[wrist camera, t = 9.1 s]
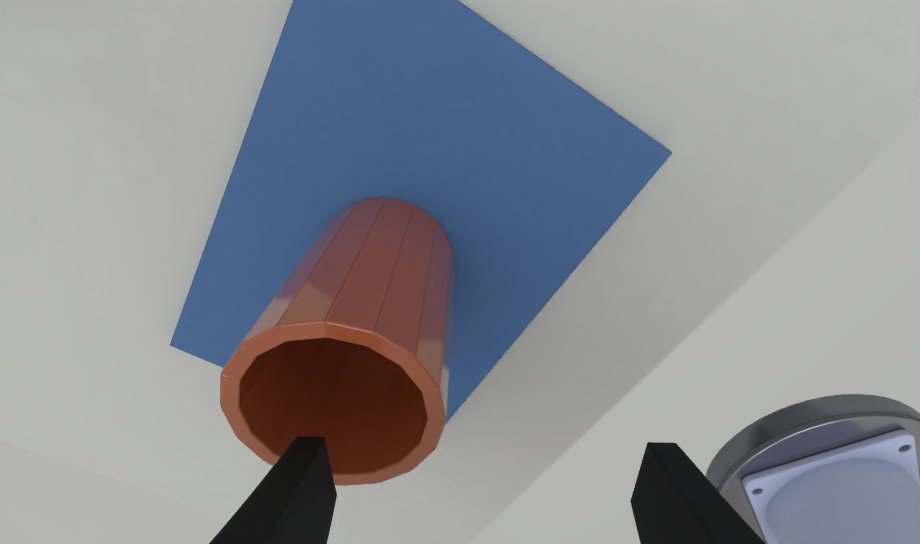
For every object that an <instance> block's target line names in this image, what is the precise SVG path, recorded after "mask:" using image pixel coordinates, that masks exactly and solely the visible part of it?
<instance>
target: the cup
mask: <svg viewBox="0 0 920 544" xmlns="http://www.w3.org/2000/svg"><path fill="white" fill-rule="evenodd" d="M454 277H455V270H454V254H453V250H452V246H451V243H450V240H449V238H448V236H447V234H446V233H445V231H444V230H443V228H442V227H441V225H440V224H439V223H438V222H437V221H436V220H435V219H434V218H433V217H432V216H431V215H429V214H428V213H427V212H426V211H424V210H422V209H421V208H419V207H417V206H415V205H413V204H411V203H408V202H405V201H402V200H398V199H393V198H382V197H381V198H370V199H364V200H361V201H358V202H355V203H353V204H351V205H349V206H347V207H345V208H344V209H342V210H341V211H340V212H339V213H338V214H336V215H335V216H334V217H333V218H332V219H331V220H330V222H329V223H328V224H327V226H326V227H325V228H324V230H323V231H322V233H321V234H320V235H319V237H318V238H317V239H316V241H315V242H314V243H313V245H312V246H311V248H310V249H309V250H308V252H307V253H306V254H305V256H304V257H303V258H302V260H301V261H300V263H299V264H298V265H297V267H296V268H295V269H294V271H293V272H292V274H291V275H290V276H289V278H288V279H287V280H286V282H285V283H284V284H283V286H282V287H281V289H280V290H279V291H278V293H277V294H276V295H275V297H274V298H273V299H272V301H271V302H270V304H269V305H268V306H267V308H266V309H265V310H264V312H263V313H262V314H261V316H260V317H259V319H258V320H257V321H256V323H255V324H254V325H253V327H252V328H251V330H250V331H249V332H248V334H247V335H246V336H245V338H244V339H243V340H242V342H241V343H240V345H239V346H238V347H237V349H236V350H235V352H234V353H233V355H232V356H231V358H230V359H229V361H228V362H227V364H226V365H225V367H224V368H223V370H222V373H221V385H220V405H221V409H222V411H223V412H224V414H225V416H226V418H227V420H228V422H229V424H230V426H231V428H232V429H233V431H234V433H235V435H236V436H237V438H238V439H239V440H240V441H241V442H243V443H244V444H245V445H246V446H247V447H248V448H250V449H251V450H252V451H253V452H254V453H255V454H256V455H258V456H259V457H260V458H261V459H262V460H263V461H266V462H267V463H269V464H271V465H273V466H274V465H275V463H276V462H277V461H278V460H279V458H280V457H281V456H282V454H283V453H284V452H285V451H286V449H287V448H288V447H289V445H290V444H291V443H292V441H293V440H294V439H295V438H297V437H298V436H306V437H325V441H326V446H327V451H328V455H329V460H330V465H331V470H332V475H333V479H334V484H335V485H342V486H345V485H360V484H374V483H378V482H379V483H381V482H383V481H386V480H389V479H391V478H394V477H397V476H399V475H402V474H405V473H407V472H410V471H411V470H413V469H414V468H415V467H417V466H418V465H419V464H420V463H421V462H422V461H423V460H424V459H425V458H426V457H428V456H429V455H430V454H431V453H432V452H433V451H434V450H435V449H436V447H437V445H438V442H439V439H440V437H441V434H442V431H443V428H444V425H445V423H446V414H447V397H448V380H449V363H450V345H451V328H452V311H453V294H454Z"/></svg>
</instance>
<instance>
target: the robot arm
mask: <svg viewBox="0 0 920 544" xmlns="http://www.w3.org/2000/svg"><path fill="white" fill-rule="evenodd" d="M742 484H743V487H744V489H745V492H746V494H747V497H748V499H749V501H750V504H751V506H752V509H753V511H754V513H755V516H756V518H757V521H758V523H759V526H760V528H761V530H762V533H763V535H764V538H765V540H766V542H767V544H920V478H919V470H918V462H917V454H916V446H915V438H914V436H913V435H912V434H911V433H909V432H908V431H907V430H901V429H900V430H895V431H892V432H889V433H885V434H882V435H879V436H875V437H872V438H869V439H865V440H862V441H859V442H856V443H852V444H849V445H846V446H842V447H839V448H836V449H833V450H829V451H826V452H823V453H819V454H816V455H813V456H809V457H806V458H803V459H800V460H796V461H793V462H790V463H786V464H783V465H780V466H776V467H773V468H770V469H767V470H763V471H760V472H757V473H753V474H750V475H748V476H746V477H744V478H743V480H742ZM336 497H337V494H336V489H335V484H334V479H333V475H332V470H331V465H330V460H329V455H328V451H327V446H326V441H325V437H306V436H298V437H297V438H295V439H294V440H293V441H292V443H291V444H290V445H289V447H288V448H287V449H286V451H285V452H284V453H283V454H282V456H281V457H280V458H279V460H278V461H277V462H276V463H275V465H274V466H273V467H272V469H271V470H270V471H269V472H268V474H267V475H266V476H265V477H264V479H263V480H262V481H261V482H260V484H259V485H258V486H257V487H256V489H255V490H254V491H253V492H252V494H251V495H250V496H249V497H248V499H247V500H246V501H245V502H244V503H243V504H242V506H241V507H240V508H239V509H238V510H237V512H236V513H235V514H234V515H233V516H232V518H231V519H230V520H229V521H228V522H227V524H226V525H225V526H224V527H223V528H222V529H221V531H220V532H219V533H218V534H217V535H216V536H215V538H214V539H213V540H212V541H211V542H210V543H209V544H327V540H328V535H329V531H330V526H331V522H332V517H333V512H334V507H335V502H336ZM631 505H632V509H633V514H634V518H635V522H636V526H637V531H638V534H639V538H640V542H641V544H766V543H765V542H764V541H763V540H762V539H761V538H760V537H759V536H758V535H757V534H756V532H755V531H754V530H753V529H752V528H751V527H750V526H749V525H748V524H747V523H746V522H745V521H744V520H743V518H742V517H741V516H740V515H739V514H738V513H737V512H736V511H735V510H734V508H733V507H732V506H731V505H730V504H729V503H728V502H727V501H726V500H725V498H724V497H723V496H722V495H721V494H720V493H719V492H718V490H717V489H716V488H715V487H714V486H713V485H712V484H711V483H710V481H709V480H708V479H707V478H706V477H705V476H704V475H703V473H702V472H701V471H700V470H699V469H698V468H697V467H696V466H695V464H694V463H693V462H692V461H691V460H690V459H689V457H688V456H687V455H686V454H685V453H684V452H683V451H682V449H681V448H680V447H679V446H678V445H677V444H676V443H651V442H648V443H647V447H646V450H645V454H644V457H643V460H642V464H641V467H640V471H639V474H638V478H637V481H636V484H635V488H634V491H633V495H632V498H631Z"/></svg>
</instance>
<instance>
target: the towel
mask: <svg viewBox="0 0 920 544" xmlns="http://www.w3.org/2000/svg"><path fill="white" fill-rule="evenodd" d="M671 154H672V152H671V151H669V150H668V149H667V148H665V147H664V146H662V145H661V144H660V143H658V142H657V141H655V140H654V139H653V138H651V137H650V136H648V135H647V134H645V133H644V132H643V131H641V130H640V129H638V128H637V127H636V126H634V125H633V124H631V123H630V122H629V121H627V120H626V119H624V118H623V117H621V116H620V115H619V114H617V113H616V112H614V111H613V110H612V109H610V108H609V107H607V106H606V105H604V104H603V103H602V102H600V101H599V100H597V99H596V98H595V97H593V96H592V95H590V94H589V93H588V92H586V91H585V90H583V89H582V88H580V87H579V86H578V85H576V84H575V83H573V82H572V81H571V80H569V79H568V78H566V77H565V76H564V75H562V74H561V73H559V72H558V71H556V70H555V69H554V68H552V67H551V66H549V65H548V64H547V63H545V62H544V61H542V60H541V59H539V58H538V57H537V56H535V55H534V54H532V53H531V52H530V51H528V50H527V49H525V48H524V47H523V46H521V45H520V44H518V43H517V42H515V41H514V40H513V39H511V38H510V37H508V36H507V35H506V34H504V33H503V32H501V31H500V30H499V29H497V28H496V27H494V26H493V25H491V24H490V23H489V22H487V21H486V20H484V19H483V18H482V17H480V16H479V15H477V14H476V13H474V12H473V11H472V10H470V9H469V8H467V7H466V6H465V5H463V4H462V3H460V2H459V1H458V0H293V3H292V6H291V8H290V11H289V14H288V17H287V20H286V22H285V25H284V28H283V31H282V34H281V36H280V39H279V42H278V45H277V48H276V50H275V53H274V56H273V59H272V62H271V64H270V67H269V70H268V73H267V75H266V78H265V81H264V84H263V87H262V89H261V92H260V95H259V98H258V101H257V103H256V106H255V109H254V112H253V115H252V117H251V120H250V123H249V126H248V129H247V131H246V134H245V137H244V140H243V142H242V145H241V148H240V151H239V154H238V156H237V159H236V162H235V165H234V168H233V170H232V173H231V176H230V179H229V182H228V184H227V187H226V190H225V193H224V196H223V198H222V201H221V204H220V207H219V210H218V212H217V215H216V218H215V221H214V223H213V226H212V229H211V232H210V235H209V237H208V240H207V243H206V246H205V249H204V251H203V254H202V257H201V260H200V263H199V265H198V268H197V271H196V274H195V277H194V279H193V282H192V285H191V288H190V290H189V293H188V296H187V299H186V302H185V304H184V307H183V310H182V313H181V316H180V318H179V321H178V324H177V327H176V330H175V332H174V335H173V338H172V341H171V344H170V345H171V346H173V347H175V348H178V349H180V350H182V351H185V352H187V353H190V354H192V355H194V356H197V357H199V358H202V359H204V360H206V361H209V362H211V363H214V364H216V365H218V366H221V367H223V368H224V367H225V365H226V364H227V362H228V361H229V359H230V358H231V356H232V355H233V353H234V352H235V350H236V349H237V347H238V346H239V345H240V343H241V342H242V340H243V339H244V338H245V336H246V335H247V334H248V332H249V331H250V330H251V328H252V327H253V325H254V324H255V323H256V321H257V320H258V319H259V317H260V316H261V314H262V313H263V312H264V310H265V309H266V308H267V306H268V305H269V304H270V302H271V301H272V299H273V298H274V297H275V295H276V294H277V293H278V291H279V290H280V289H281V287H282V286H283V284H284V283H285V282H286V280H287V279H288V278H289V276H290V275H291V274H292V272H293V271H294V269H295V268H296V267H297V265H298V264H299V263H300V261H301V260H302V258H303V257H304V256H305V254H306V253H307V252H308V250H309V249H310V248H311V246H312V245H313V243H314V242H315V241H316V239H317V238H318V237H319V235H320V234H321V233H322V231H323V230H324V228H325V227H326V226H327V224H328V223H329V222H330V220H331V219H332V218H333V217H334V216H335V215H336V214H338V213H339V212H340V211H341V210H342V209H344V208H345V207H347V206H349V205H351V204H353V203H355V202H358V201H361V200H364V199H370V198H381V197H382V198H393V199H398V200H402V201H405V202H408V203H411V204H413V205H415V206H417V207H419V208H421V209H422V210H424V211H426V212H427V213H428V214H429V215H431V216H432V217H433V218H434V219H435V220H436V221H437V222H438V223H439V224H440V225H441V227H442V228H443V230H444V231H445V233H446V234H447V236H448V238H449V240H450V243H451V246H452V250H453V254H454V270H455V277H454V294H453V311H452V328H451V345H450V363H449V380H448V397H447V414H446V423H447V422H448V420H449V419H450V418H451V417H452V416H453V414H454V413H455V412H456V411H457V410H458V408H459V407H460V406H461V405H462V404H463V402H464V401H465V400H466V399H467V398H468V396H469V395H470V394H471V393H472V392H473V390H474V389H475V388H476V387H477V386H478V384H479V383H480V382H481V381H482V380H483V379H484V377H485V376H486V375H487V374H488V373H489V371H490V370H491V369H492V368H493V367H494V365H495V364H496V363H497V362H498V361H499V359H500V358H501V357H502V356H503V355H504V353H505V352H506V351H507V350H508V349H509V347H510V346H511V345H512V344H513V343H514V341H515V340H516V339H517V338H518V337H519V335H520V334H521V333H522V332H523V331H524V329H525V328H526V327H527V326H528V325H529V324H530V322H531V321H532V320H533V319H534V318H535V316H536V315H537V314H538V313H539V312H540V310H541V309H542V308H543V307H544V306H545V304H546V303H547V302H548V301H549V300H550V298H551V297H552V296H553V295H554V294H555V292H556V291H557V290H558V289H559V288H560V286H561V285H562V284H563V283H564V282H565V280H566V279H567V278H568V277H569V276H570V274H571V273H572V272H573V271H574V270H575V269H576V267H577V266H578V265H579V264H580V263H581V261H582V260H583V259H584V258H585V257H586V255H587V254H588V253H589V252H590V251H591V249H592V248H593V247H594V246H595V245H596V243H597V242H598V241H599V240H600V239H601V237H602V236H603V235H604V234H605V233H606V231H607V230H608V229H609V228H610V227H611V225H612V224H613V223H614V222H615V221H616V219H617V218H618V217H619V216H620V215H621V214H622V212H623V211H624V210H625V209H626V208H627V206H628V205H629V204H630V203H631V202H632V200H633V199H634V198H635V197H636V196H637V194H638V193H639V192H640V191H641V190H642V188H643V187H644V186H645V185H646V184H647V182H648V181H649V180H650V179H651V178H652V176H653V175H654V174H655V173H656V172H657V170H658V169H659V168H660V167H661V166H662V164H663V163H664V162H665V161H666V160H667V159H668V157H669V156H670V155H671ZM446 423H445V424H446Z"/></svg>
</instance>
